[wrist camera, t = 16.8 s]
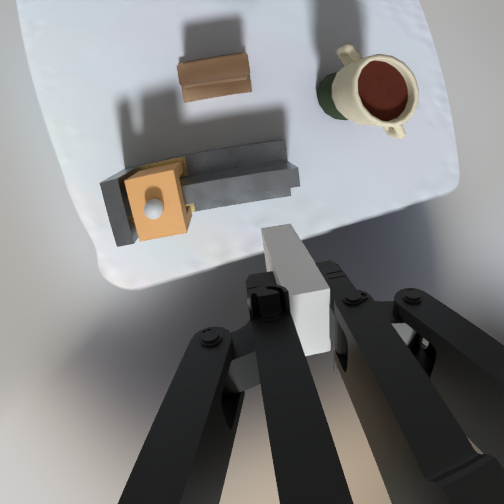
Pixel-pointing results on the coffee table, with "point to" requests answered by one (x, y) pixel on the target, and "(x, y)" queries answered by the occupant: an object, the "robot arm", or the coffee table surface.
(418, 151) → the coffee table surface
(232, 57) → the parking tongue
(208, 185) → the rail
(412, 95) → the character mug
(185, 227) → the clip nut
